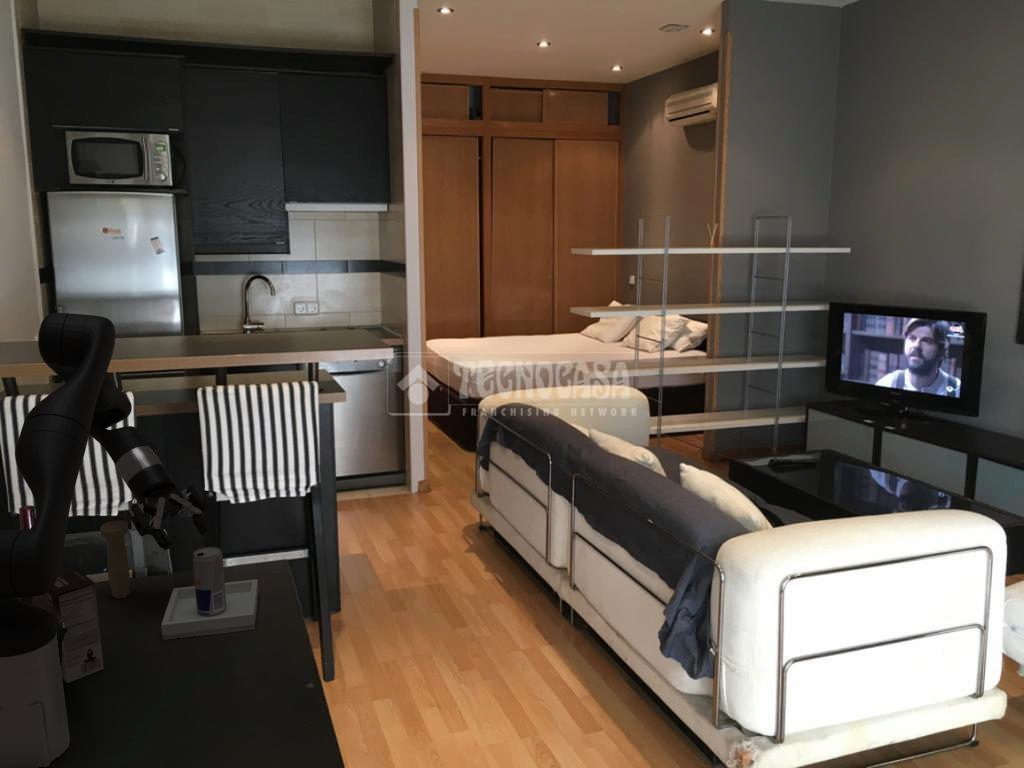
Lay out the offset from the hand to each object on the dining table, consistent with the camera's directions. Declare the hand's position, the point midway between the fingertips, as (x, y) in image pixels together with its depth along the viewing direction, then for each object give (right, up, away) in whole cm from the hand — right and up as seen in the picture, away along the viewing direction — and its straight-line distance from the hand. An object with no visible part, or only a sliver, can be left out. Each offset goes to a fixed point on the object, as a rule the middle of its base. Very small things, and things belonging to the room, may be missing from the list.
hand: (187, 540), depth 162 cm
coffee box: (-12, -18, -19) cm, 29 cm away
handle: (-17, -13, +8) cm, 23 cm away
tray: (+5, -14, 0) cm, 15 cm away
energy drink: (+5, -14, -1) cm, 15 cm away
